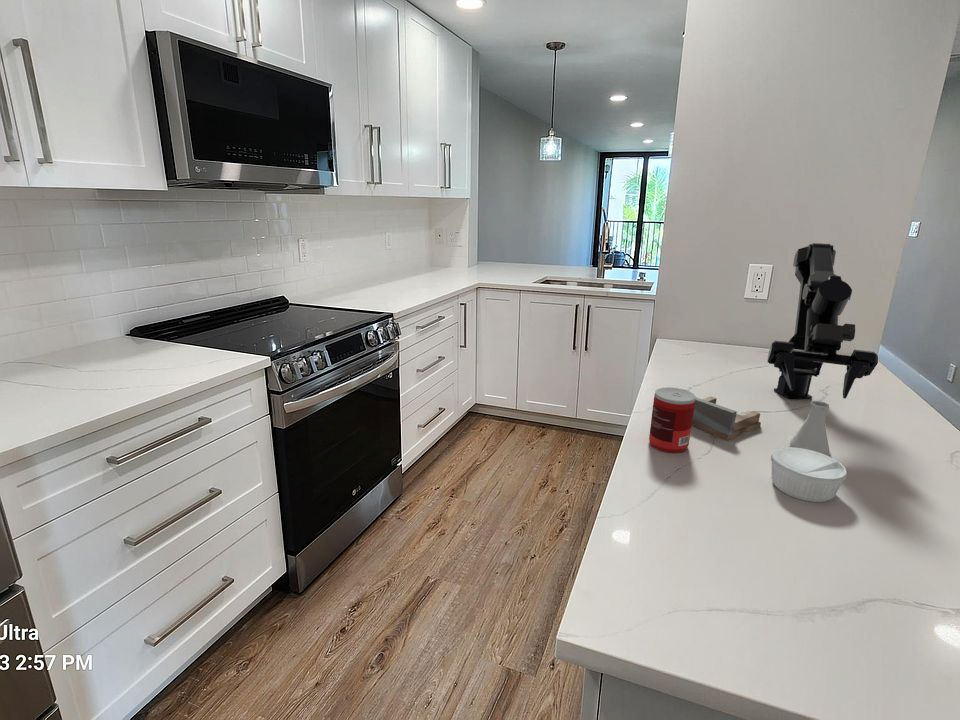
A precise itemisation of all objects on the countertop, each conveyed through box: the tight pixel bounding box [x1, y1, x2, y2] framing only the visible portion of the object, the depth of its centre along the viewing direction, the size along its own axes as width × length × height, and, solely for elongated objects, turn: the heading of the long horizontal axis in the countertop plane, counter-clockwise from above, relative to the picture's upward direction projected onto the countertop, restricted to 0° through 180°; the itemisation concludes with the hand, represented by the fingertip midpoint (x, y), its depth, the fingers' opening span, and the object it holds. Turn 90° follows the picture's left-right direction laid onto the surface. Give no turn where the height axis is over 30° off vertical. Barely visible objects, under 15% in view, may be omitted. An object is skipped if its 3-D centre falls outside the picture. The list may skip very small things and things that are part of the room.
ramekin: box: [770, 446, 848, 503], centre depth 92 cm, size 11×11×5 cm
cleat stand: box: [691, 396, 762, 441], centre depth 118 cm, size 13×13×6 cm
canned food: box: [648, 387, 696, 454], centre depth 106 cm, size 8×8×11 cm
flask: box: [789, 400, 831, 457], centre depth 106 cm, size 7×7×10 cm
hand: (818, 393), depth 107 cm, fingers open, 9 cm apart
